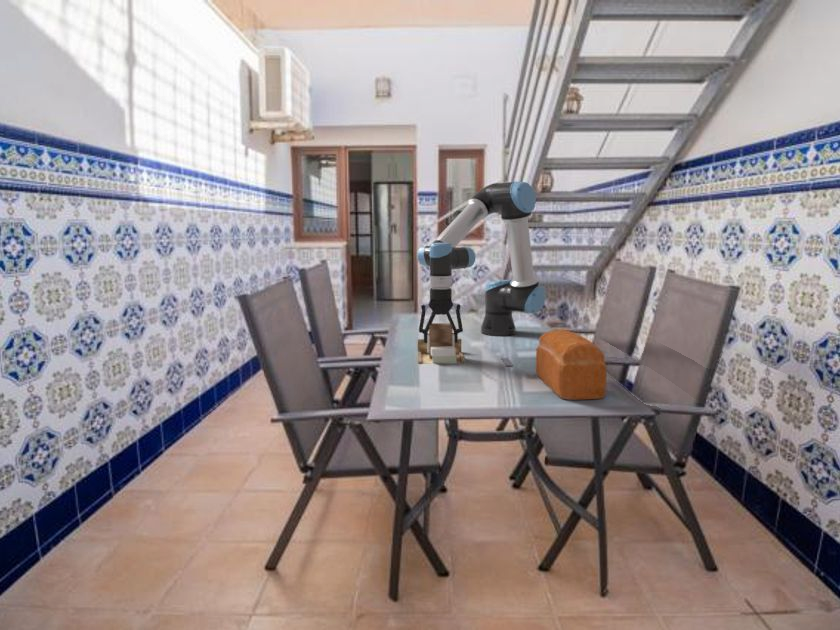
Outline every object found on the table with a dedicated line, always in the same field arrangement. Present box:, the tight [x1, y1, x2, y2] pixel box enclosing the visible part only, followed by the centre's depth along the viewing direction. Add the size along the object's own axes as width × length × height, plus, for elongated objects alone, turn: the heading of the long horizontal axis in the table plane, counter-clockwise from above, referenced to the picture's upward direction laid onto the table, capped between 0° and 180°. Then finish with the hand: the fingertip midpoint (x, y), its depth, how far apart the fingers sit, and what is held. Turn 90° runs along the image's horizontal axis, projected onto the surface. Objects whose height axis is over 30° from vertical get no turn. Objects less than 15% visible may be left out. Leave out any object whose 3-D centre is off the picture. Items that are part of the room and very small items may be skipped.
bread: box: [535, 329, 608, 401], centre depth 158 cm, size 14×26×16 cm, turn 4°
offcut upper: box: [431, 346, 455, 356], centre depth 183 cm, size 8×4×2 cm, turn 97°
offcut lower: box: [433, 353, 457, 364], centre depth 183 cm, size 8×4×2 cm, turn 91°
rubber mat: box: [500, 357, 514, 367], centre depth 186 cm, size 14×10×1 cm
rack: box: [417, 338, 466, 365], centre depth 189 cm, size 16×16×6 cm
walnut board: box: [428, 322, 453, 359], centre depth 188 cm, size 8×3×12 cm, turn 91°
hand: (440, 351), depth 189 cm, fingers closed on walnut board, 8 cm apart
